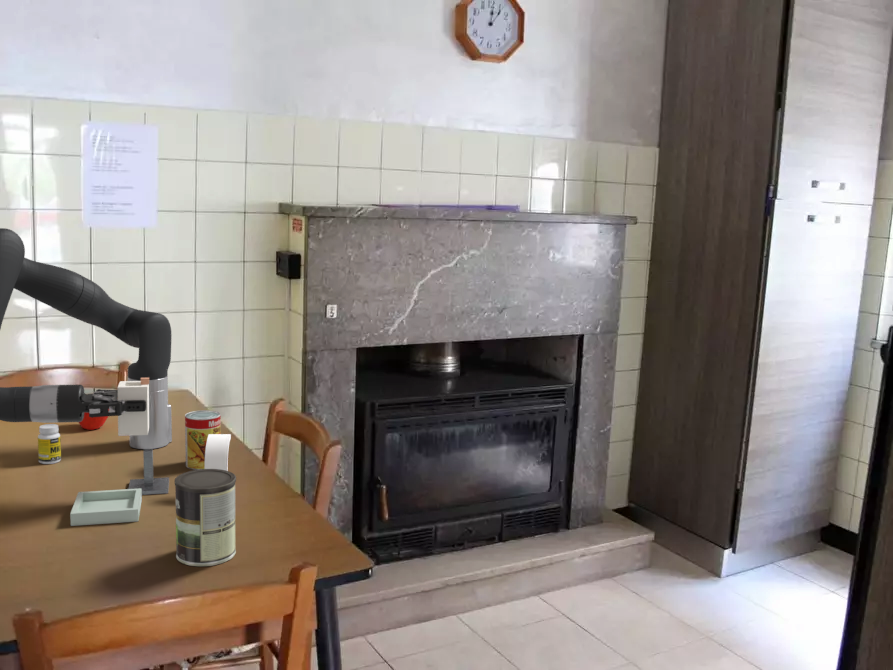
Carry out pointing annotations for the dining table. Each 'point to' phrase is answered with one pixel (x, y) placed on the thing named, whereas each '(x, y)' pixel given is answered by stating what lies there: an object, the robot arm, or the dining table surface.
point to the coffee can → (205, 517)
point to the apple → (92, 422)
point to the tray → (106, 507)
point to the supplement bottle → (49, 444)
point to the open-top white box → (134, 420)
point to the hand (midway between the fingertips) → (146, 402)
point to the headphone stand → (217, 451)
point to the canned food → (199, 435)
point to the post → (150, 478)
